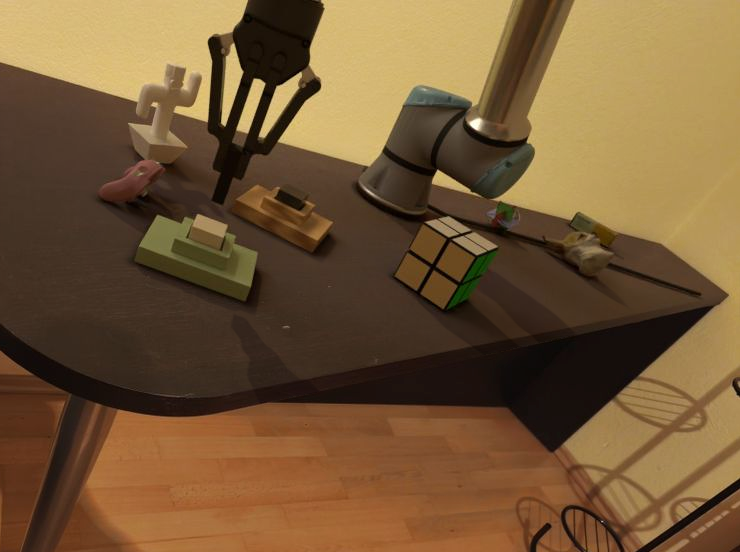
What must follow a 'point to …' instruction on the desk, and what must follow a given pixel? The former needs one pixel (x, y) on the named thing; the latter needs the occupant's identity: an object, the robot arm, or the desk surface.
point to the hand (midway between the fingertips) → (218, 199)
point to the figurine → (163, 114)
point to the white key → (208, 232)
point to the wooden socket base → (282, 217)
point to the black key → (292, 196)
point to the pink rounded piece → (133, 182)
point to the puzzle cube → (445, 262)
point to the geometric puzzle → (504, 216)
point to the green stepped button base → (198, 258)
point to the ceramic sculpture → (581, 251)
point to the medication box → (593, 228)
